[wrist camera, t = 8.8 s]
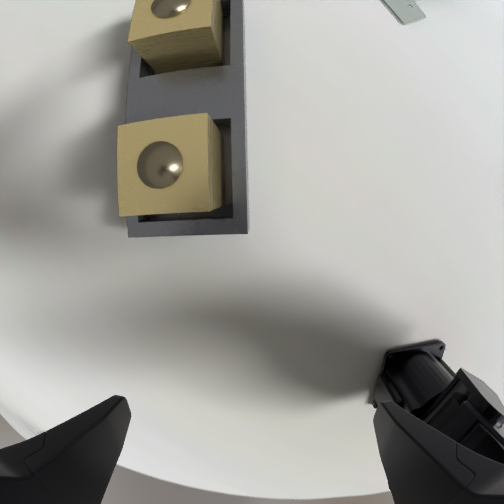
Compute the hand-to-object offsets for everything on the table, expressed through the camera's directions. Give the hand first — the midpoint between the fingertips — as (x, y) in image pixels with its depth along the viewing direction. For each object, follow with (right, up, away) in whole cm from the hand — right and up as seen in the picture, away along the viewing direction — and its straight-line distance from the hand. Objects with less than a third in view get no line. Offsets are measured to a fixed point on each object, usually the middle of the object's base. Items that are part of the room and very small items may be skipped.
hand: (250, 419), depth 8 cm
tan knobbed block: (-4, +20, +8) cm, 22 cm away
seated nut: (-4, +11, +10) cm, 15 cm away
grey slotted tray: (-4, +15, +9) cm, 18 cm away
